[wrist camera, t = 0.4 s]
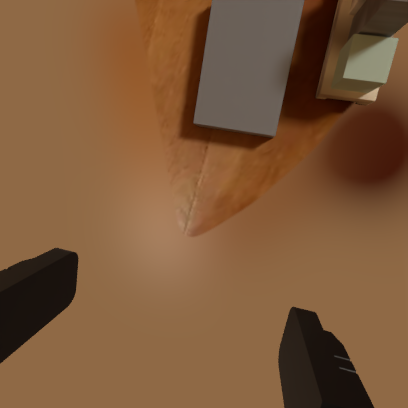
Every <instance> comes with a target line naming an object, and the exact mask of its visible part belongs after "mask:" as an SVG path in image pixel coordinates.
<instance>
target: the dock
mask: <svg viewBox="0 0 408 408" xmlns="http://www.w3.org/2000/svg"><path fill="white" fill-rule="evenodd" d="M303 4H304V0H212V6H211V12H210V18H209V25H208V31H207V38H206V44H205V51H204V57H203V64H202V70H201V76H200V83H199V89H198V96H197V102H196V109H195V115H194V122H193V123H194V124H195V125H197V126H200V127H206V128H213V129H219V130H225V131H231V132H238V133H244V134H250V135H256V136H263V137H269V138H274V137H275V135H276V130H277V125H278V121H279V116H280V111H281V107H282V102H283V97H284V93H285V88H286V83H287V79H288V74H289V70H290V65H291V60H292V56H293V51H294V46H295V42H296V37H297V32H298V28H299V23H300V18H301V14H302V9H303Z"/></svg>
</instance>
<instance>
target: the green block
mask: <svg viewBox="0 0 408 408" xmlns="http://www.w3.org/2000/svg"><path fill="white" fill-rule="evenodd" d="M397 42H398V38H390V37H380V36H371V35H362V34H354V35H353V36H352V37H351V38H350V39H349V40H348V42H347V43H346V44H345V45H344V46H343V48H342V49H341V50H340V53H339V57H338V61H337V65H336V69H335V73H334V77H333V81H332V85H331V88H332V89H339V90H347V91H354V92H362V93H369V92H371V91H373V90H375V89H376V88H378V87H380V86H382V85H383V84H385V83H386V81H387V78H388V74H389V71H390V67H391V63H392V60H393V56H394V53H395V49H396V46H397Z"/></svg>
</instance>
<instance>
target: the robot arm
mask: <svg viewBox="0 0 408 408" xmlns="http://www.w3.org/2000/svg"><path fill="white" fill-rule="evenodd" d="M77 270H78V255H77V254H76V253H75V252H71V251H67V250H63V249H59V248H54V249H52V250H50V251H48V252H46V253H44V254H42V255H40V256H37V257H35V258H32V259H29V260H25V261H21V262H19V263H17V264H15V265H13V266H11V267H9V268H8V269H4V270H2V271H0V363H1V362H3V361H4V360H5V359H6V358H7V357H8V356H10V355H11V354H12V353H13V352H15V351H16V350H17V349H18V348H19V347H20V346H21V345H23V344H24V343H25V342H26V341H28V340H29V339H30V338H31V337H32V336H34V335H35V334H36V333H37V332H38V331H39V330H41V329H42V328H43V327H44V326H45V325H47V324H48V323H49V322H50V321H51V320H52V319H54V318H55V317H56V316H57V315H58V314H60V313H61V312H62V311H63V310H64V309H65V308H67V307H68V306H69V304H70V303H71V302H72V300H73V298H74V295H75V292H76V282H77ZM278 360H279V361H278V363H279V372H280V379H281V386H282V392H283V400H284V407H285V408H374V406H373V404H372V402H371V400H370V398H369V396H368V394H367V392H366V390H365V388H364V386H363V384H362V382H361V380H360V378H359V376H358V374H356V370H355V368H354V366H353V364H352V362H351V361H350V358H349V356H348V354H347V352H346V350H345V348H344V346H343V344H342V343H341V342H340V341H339V340H338V339H337V338H336V337H335V336H334V335H333V334H332V333H331V332H328V331H325V330H323V328H322V325H321V323H320V321H319V319H318V316H317V314H316V313H315V312H312V311H308V310H304V309H300V308H296V307H292V308H291V309H290V312H289V315H288V319H287V322H286V326H285V330H284V333H283V337H282V341H281V344H280V349H279V359H278Z"/></svg>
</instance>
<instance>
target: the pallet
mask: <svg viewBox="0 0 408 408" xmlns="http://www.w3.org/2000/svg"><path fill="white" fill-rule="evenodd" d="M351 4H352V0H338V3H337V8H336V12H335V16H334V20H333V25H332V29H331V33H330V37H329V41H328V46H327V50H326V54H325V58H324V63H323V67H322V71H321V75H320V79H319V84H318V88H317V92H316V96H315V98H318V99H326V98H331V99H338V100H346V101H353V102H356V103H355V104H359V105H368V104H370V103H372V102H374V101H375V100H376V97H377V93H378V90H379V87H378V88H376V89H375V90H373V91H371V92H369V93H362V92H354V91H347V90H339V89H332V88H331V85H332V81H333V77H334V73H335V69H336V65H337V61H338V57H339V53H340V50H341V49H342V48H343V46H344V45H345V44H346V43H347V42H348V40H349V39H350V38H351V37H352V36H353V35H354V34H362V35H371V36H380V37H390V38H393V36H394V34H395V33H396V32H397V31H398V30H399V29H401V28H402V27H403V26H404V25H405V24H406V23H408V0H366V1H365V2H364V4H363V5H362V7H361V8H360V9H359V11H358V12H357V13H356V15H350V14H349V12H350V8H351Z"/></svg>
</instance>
